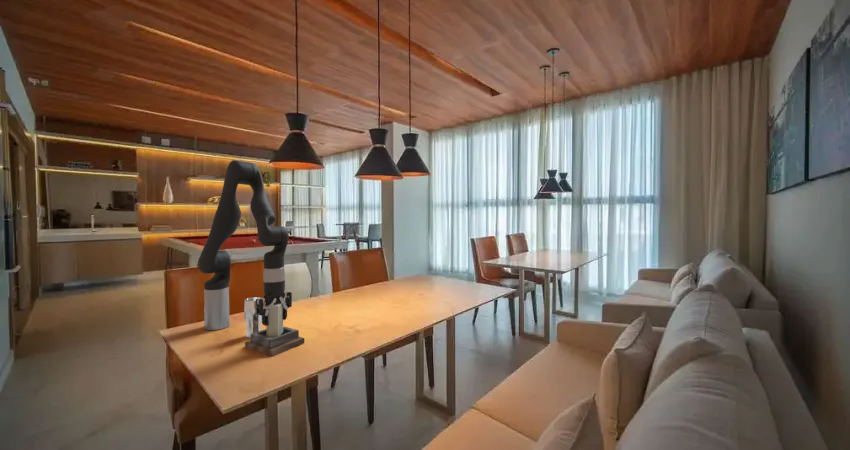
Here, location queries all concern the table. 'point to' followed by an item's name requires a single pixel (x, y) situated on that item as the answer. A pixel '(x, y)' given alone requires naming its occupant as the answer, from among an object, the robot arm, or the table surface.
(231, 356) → the table surface
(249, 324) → the beer glass
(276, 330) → the skincare box
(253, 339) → the pocket stand
